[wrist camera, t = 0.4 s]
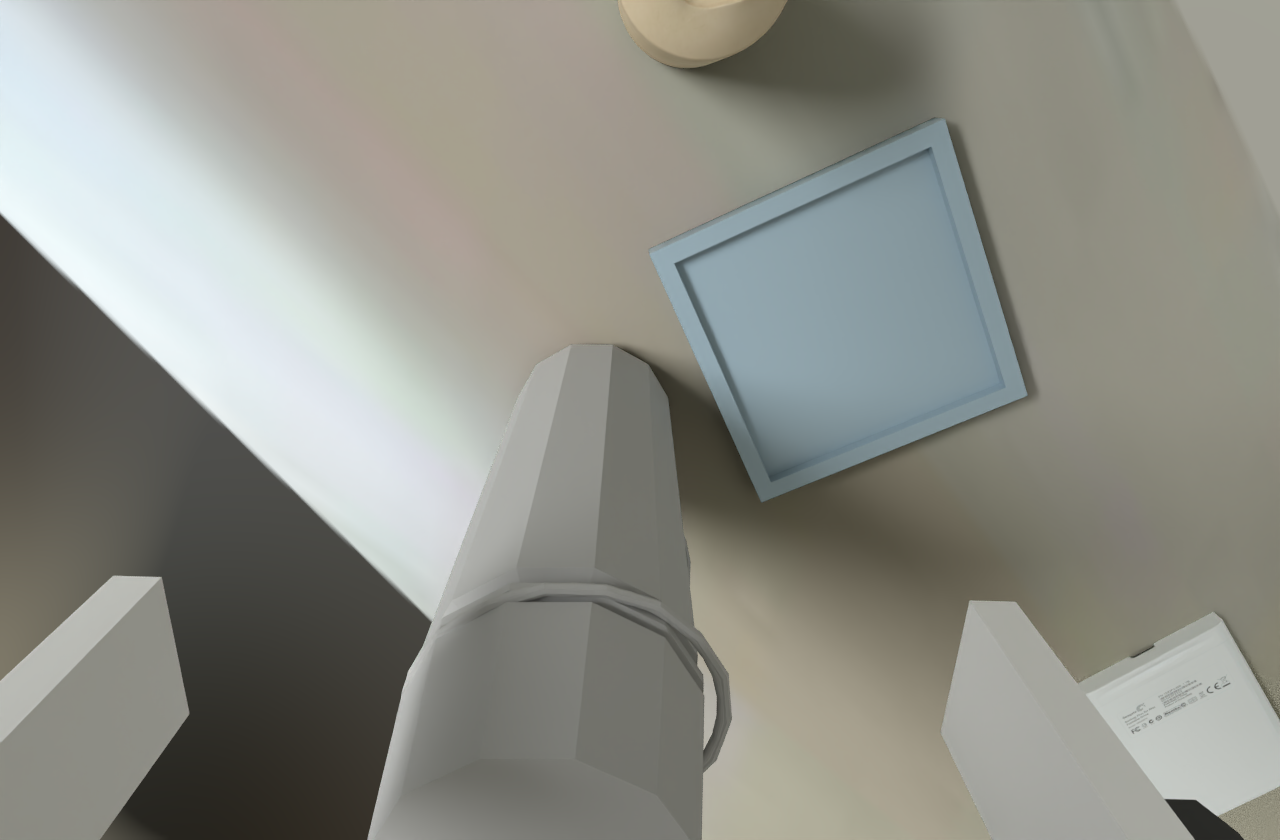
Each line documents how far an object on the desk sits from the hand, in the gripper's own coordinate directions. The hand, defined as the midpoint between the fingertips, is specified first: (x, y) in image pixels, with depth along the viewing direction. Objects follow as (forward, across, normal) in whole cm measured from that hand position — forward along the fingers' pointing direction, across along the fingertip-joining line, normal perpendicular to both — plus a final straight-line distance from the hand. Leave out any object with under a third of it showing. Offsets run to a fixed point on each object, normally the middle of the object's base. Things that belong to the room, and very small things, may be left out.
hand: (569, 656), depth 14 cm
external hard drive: (+26, +33, -23) cm, 48 cm away
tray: (+25, +10, 0) cm, 27 cm away
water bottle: (+25, 0, -6) cm, 26 cm away
